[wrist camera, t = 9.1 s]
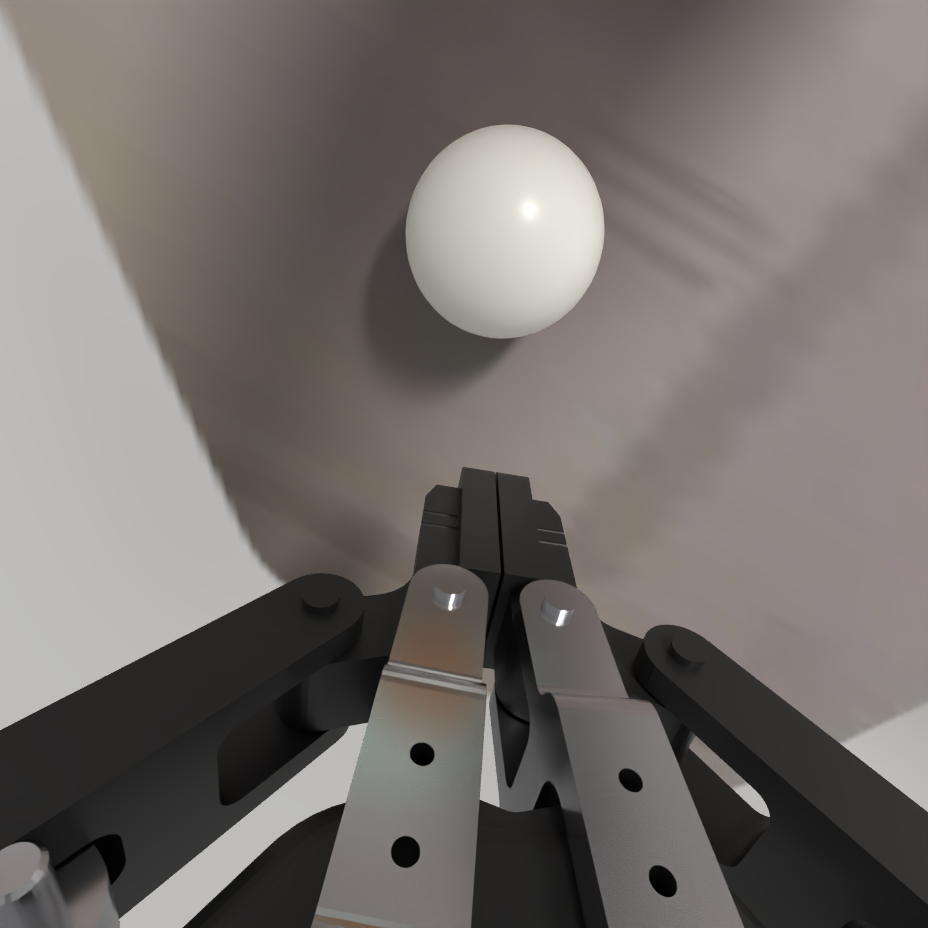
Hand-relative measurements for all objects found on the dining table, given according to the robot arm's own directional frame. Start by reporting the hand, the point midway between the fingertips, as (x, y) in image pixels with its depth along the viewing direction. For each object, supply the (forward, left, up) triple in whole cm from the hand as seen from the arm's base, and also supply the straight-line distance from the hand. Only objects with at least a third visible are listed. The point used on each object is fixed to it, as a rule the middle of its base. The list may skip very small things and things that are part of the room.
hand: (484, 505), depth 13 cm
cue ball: (-5, 0, -6) cm, 8 cm away
